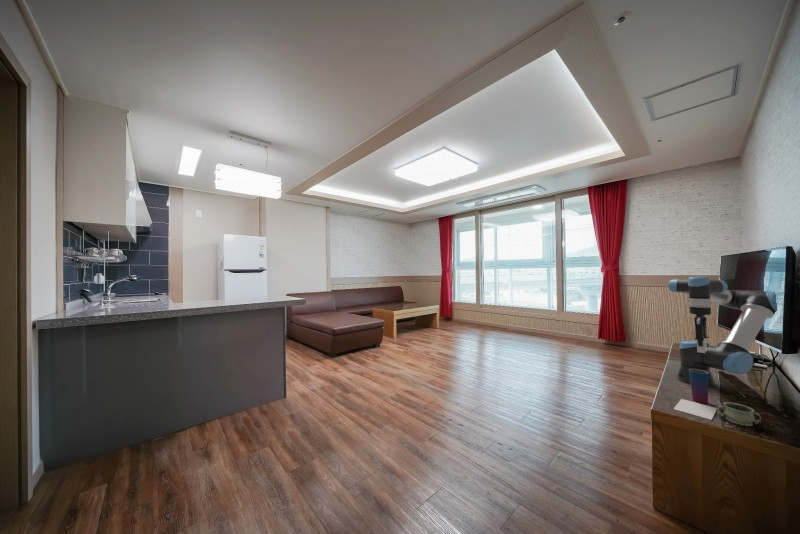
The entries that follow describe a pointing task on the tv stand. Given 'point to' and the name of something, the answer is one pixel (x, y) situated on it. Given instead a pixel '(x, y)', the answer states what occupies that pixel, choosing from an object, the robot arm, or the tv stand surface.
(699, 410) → the mat
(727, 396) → the tv stand surface
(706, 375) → the cup
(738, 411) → the vessel
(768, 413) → the tv stand surface
